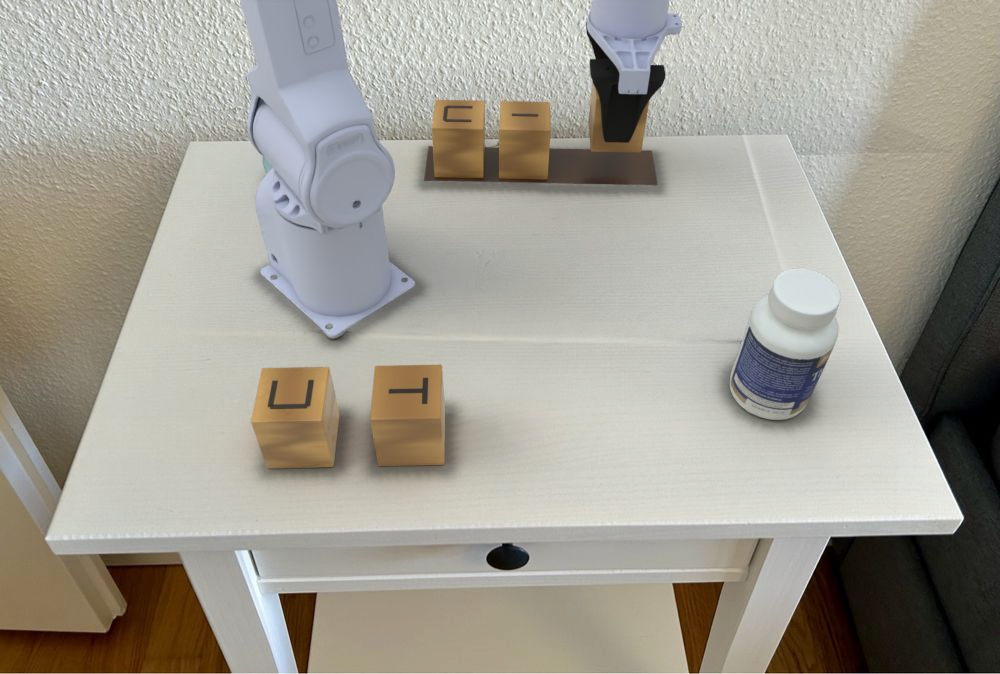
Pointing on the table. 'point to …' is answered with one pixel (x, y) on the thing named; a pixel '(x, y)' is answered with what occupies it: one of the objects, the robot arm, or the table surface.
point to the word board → (571, 168)
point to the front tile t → (408, 415)
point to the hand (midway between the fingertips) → (614, 123)
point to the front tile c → (296, 417)
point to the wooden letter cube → (597, 133)
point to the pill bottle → (786, 345)
